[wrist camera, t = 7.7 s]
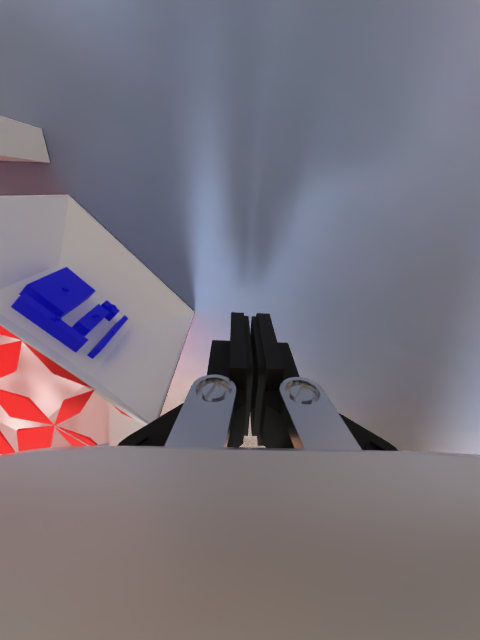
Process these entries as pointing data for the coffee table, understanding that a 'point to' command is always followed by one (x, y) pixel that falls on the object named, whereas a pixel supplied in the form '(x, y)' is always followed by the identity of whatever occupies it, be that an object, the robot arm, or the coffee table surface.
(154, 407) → the red white patterned box
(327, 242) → the coffee table surface
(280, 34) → the coffee table surface
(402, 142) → the coffee table surface
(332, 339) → the coffee table surface
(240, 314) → the robot arm
